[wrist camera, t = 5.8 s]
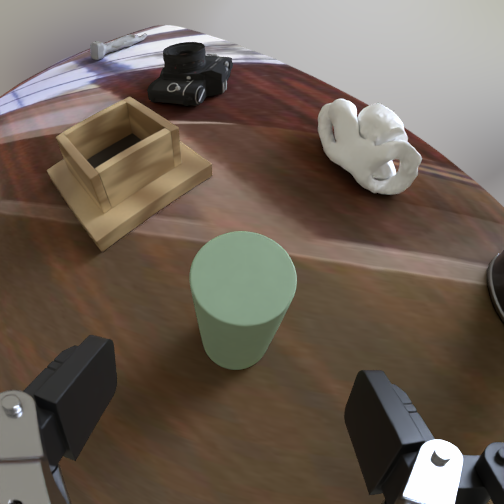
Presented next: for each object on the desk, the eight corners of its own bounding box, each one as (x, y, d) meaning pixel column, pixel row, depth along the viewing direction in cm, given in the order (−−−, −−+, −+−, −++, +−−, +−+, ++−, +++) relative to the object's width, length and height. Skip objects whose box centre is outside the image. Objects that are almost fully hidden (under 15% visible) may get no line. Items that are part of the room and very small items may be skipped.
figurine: (91, 58, 43) (89, 42, 41) (142, 43, 50) (142, 28, 47) (99, 60, 42) (97, 43, 40) (151, 44, 49) (151, 29, 46)
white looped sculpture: (307, 124, 34) (356, 76, 30) (376, 197, 35) (427, 153, 31) (290, 128, 27) (353, 66, 23) (378, 221, 28) (444, 166, 24)
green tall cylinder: (235, 295, 22) (242, 214, 14) (281, 337, 21) (318, 275, 13) (188, 336, 20) (167, 272, 12) (235, 383, 19) (245, 349, 11)
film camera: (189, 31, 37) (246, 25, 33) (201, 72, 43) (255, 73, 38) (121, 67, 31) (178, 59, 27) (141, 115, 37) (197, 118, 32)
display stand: (143, 124, 32) (136, 83, 27) (212, 175, 28) (212, 127, 23) (51, 180, 27) (33, 140, 22) (101, 252, 23) (78, 208, 18)
